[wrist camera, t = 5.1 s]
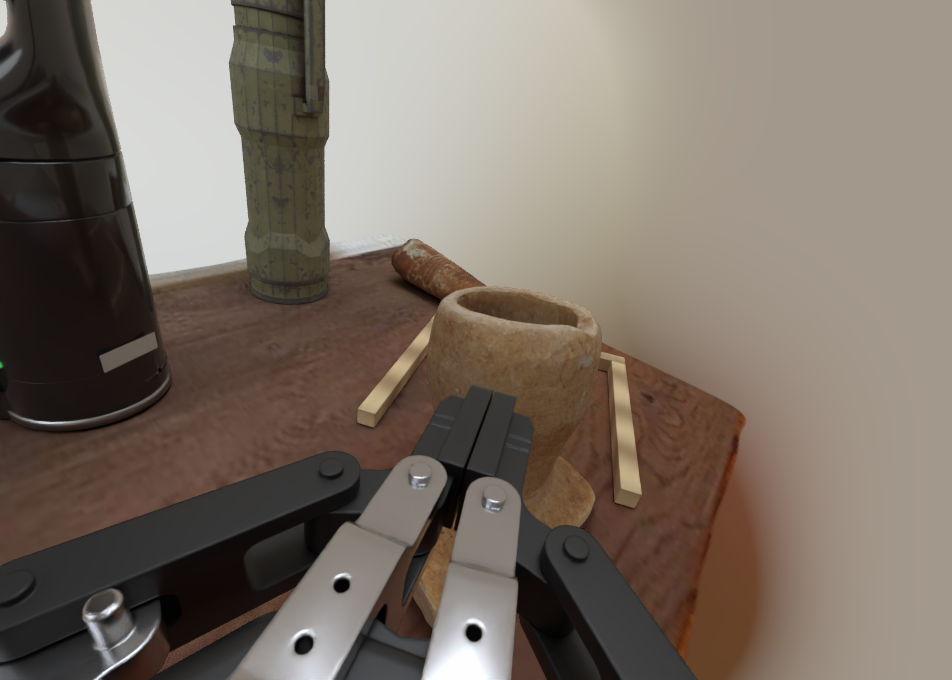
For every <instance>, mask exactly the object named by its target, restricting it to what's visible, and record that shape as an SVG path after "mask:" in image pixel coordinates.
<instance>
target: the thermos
mask: <svg viewBox="0 0 952 680" xmlns="http://www.w3.org/2000/svg"><path fill="white" fill-rule="evenodd" d="M231 4H232V5H233V6H234V12H235V24H236V26H233V30H234V44H233V48H232V52H231V57H230V61H229V69H230V80H231V90H232V100H233V111H234V122H235V125H236V127H237V129H238V131H239V133H240V135H241V139H242V151H243V162H244V173H245V184H246V196H247V207H248V218H249V222H248V225H247V228H246V231H245V246H246V256H247V268H248V271H249V273H250V275H251V291H252V293H253V294H254V295H255V296H256V297H258V298H260V299H262V300H265V301H269V302H272V303H279V304H302V303H309V302H313V301H316V300H319V299H321V298H322V297H324V296H325V295H326V294H327V292H328V284H327V275H328V273H329V247H330V242H329V241H330V240H329V237H328V234H327V232H326V229H325V223H324V222H325V219H324V218H325V217H324V216H325V215H324V214H325V210H324V206H325V205H324V147H325V144H326V142H327V140H328V137H329V79H328V75H327V72H326V69H325V0H231Z"/></svg>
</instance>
